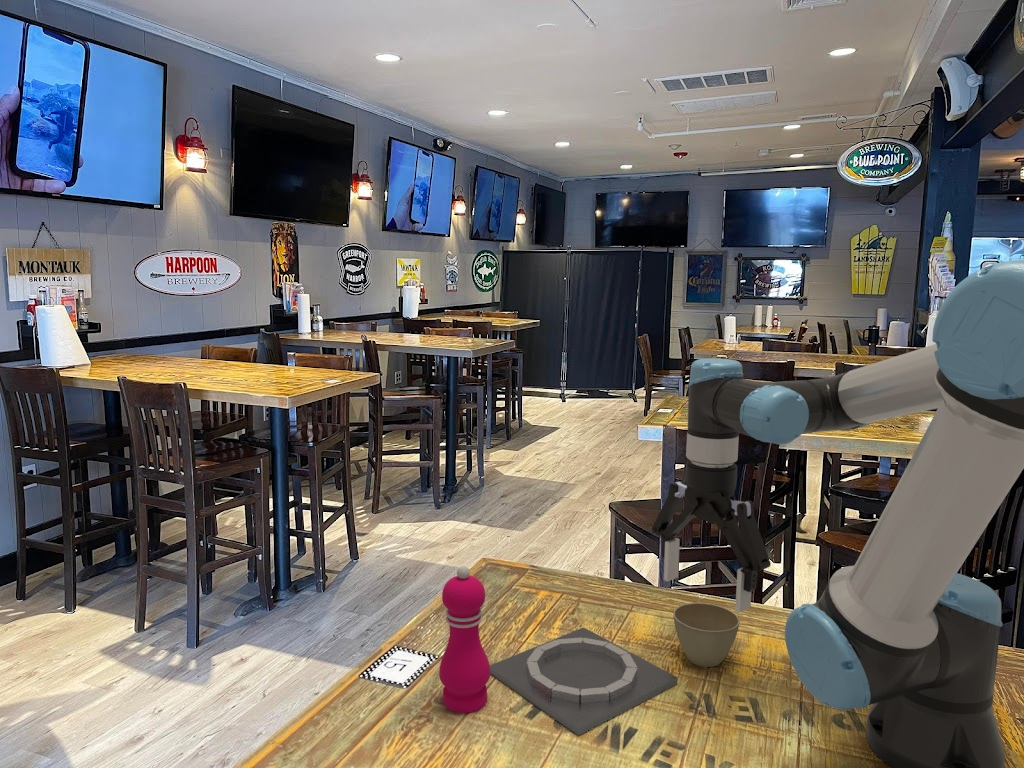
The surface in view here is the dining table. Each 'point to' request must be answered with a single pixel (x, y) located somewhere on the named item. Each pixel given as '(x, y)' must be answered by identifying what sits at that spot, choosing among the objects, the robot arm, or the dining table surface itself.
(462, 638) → the pepper mill
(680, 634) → the flower pot
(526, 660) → the ring plate
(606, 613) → the dining table surface
